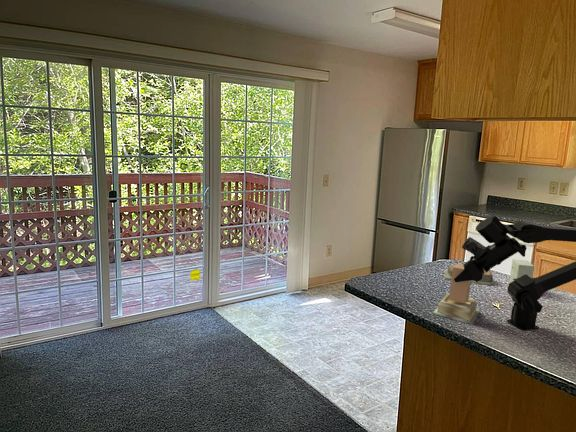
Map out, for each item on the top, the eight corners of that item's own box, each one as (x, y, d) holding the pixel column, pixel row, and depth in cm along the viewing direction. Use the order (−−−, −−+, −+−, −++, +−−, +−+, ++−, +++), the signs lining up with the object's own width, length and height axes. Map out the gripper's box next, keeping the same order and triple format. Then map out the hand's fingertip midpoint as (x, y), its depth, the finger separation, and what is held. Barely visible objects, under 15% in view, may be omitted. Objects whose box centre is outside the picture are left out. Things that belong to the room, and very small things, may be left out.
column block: (468, 298, 140) (472, 266, 138) (465, 303, 136) (469, 270, 134) (452, 295, 143) (456, 263, 141) (449, 299, 139) (452, 267, 137)
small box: (530, 292, 163) (535, 266, 161) (514, 291, 164) (518, 264, 162) (523, 285, 170) (527, 260, 168) (508, 284, 171) (512, 258, 169)
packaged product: (491, 268, 177) (494, 275, 168) (489, 279, 178) (493, 287, 168) (445, 262, 182) (446, 268, 173) (443, 272, 183) (444, 280, 174)
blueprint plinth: (479, 312, 142) (481, 299, 141) (472, 324, 132) (474, 311, 131) (442, 302, 149) (444, 291, 148) (432, 313, 139) (434, 301, 138)
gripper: (486, 226, 140) (447, 252, 149) (474, 236, 125) (432, 264, 133) (509, 254, 138) (469, 279, 146) (500, 267, 122) (456, 295, 131)
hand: (456, 278), depth 139 cm, fingers closed on column block, 5 cm apart
